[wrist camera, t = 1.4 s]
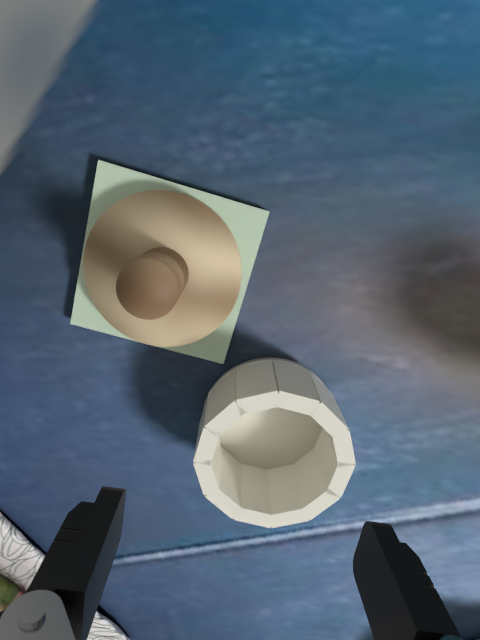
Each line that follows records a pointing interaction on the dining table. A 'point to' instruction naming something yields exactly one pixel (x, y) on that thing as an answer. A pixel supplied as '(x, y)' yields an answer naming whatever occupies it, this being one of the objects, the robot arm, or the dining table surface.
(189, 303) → the lid
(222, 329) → the mat
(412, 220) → the dining table surface
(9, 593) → the cookie jar
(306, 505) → the bowl
